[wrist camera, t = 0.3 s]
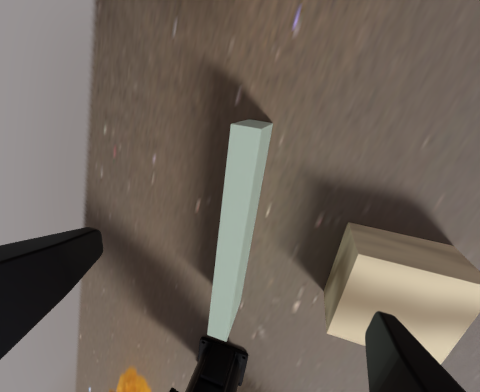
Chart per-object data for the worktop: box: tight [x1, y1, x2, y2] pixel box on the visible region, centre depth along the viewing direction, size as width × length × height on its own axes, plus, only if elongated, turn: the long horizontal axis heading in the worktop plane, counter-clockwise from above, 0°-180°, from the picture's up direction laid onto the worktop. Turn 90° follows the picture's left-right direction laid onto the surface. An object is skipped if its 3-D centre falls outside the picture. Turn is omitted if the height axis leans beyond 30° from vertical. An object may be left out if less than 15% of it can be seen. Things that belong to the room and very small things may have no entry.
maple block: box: [324, 222, 480, 365], centre depth 19 cm, size 8×8×5 cm
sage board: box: [207, 119, 273, 342], centre depth 21 cm, size 20×2×5 cm, turn 173°
